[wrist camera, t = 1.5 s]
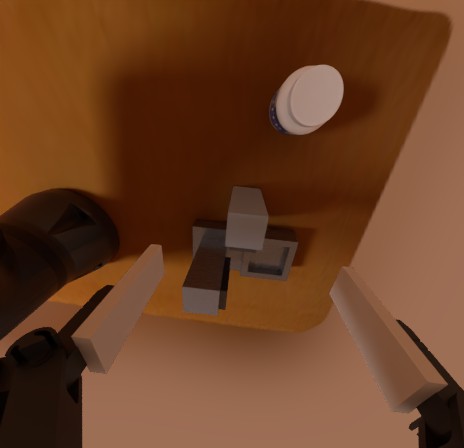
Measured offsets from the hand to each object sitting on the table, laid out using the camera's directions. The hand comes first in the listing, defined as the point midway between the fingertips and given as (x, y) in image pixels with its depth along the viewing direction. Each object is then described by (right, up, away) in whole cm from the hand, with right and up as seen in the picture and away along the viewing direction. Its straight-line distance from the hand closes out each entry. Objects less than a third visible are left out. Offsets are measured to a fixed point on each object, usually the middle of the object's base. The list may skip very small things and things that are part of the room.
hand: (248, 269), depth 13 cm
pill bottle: (+6, +17, +9) cm, 20 cm away
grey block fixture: (+1, 0, +17) cm, 18 cm away
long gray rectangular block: (+1, +7, +14) cm, 16 cm away
